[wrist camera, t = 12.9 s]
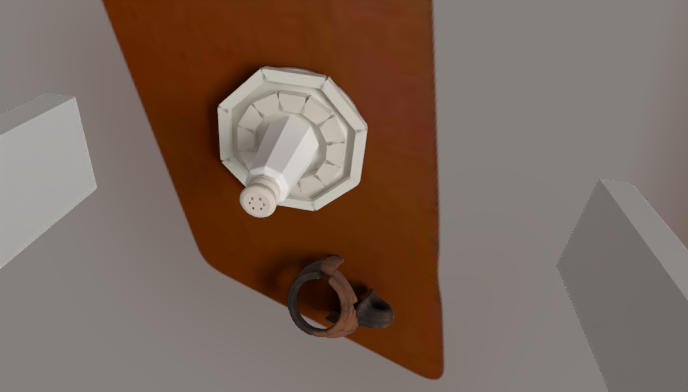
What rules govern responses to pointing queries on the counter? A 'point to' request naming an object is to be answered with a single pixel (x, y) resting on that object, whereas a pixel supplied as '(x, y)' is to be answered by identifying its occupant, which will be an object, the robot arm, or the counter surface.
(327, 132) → the dish
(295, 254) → the counter surface
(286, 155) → the pepper shaker
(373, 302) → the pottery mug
